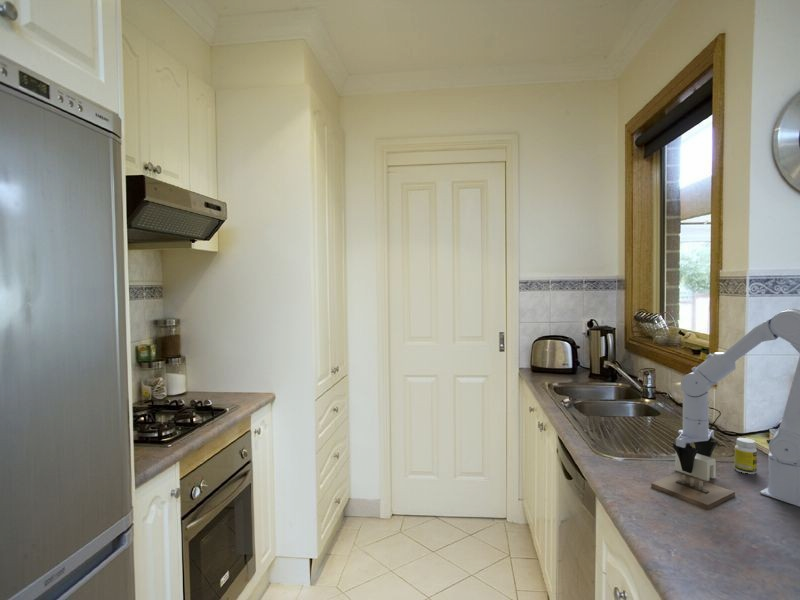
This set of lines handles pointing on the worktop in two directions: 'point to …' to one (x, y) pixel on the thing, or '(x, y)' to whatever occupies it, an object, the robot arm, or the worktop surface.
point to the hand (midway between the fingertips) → (695, 468)
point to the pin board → (693, 490)
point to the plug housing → (699, 467)
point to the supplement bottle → (745, 456)
